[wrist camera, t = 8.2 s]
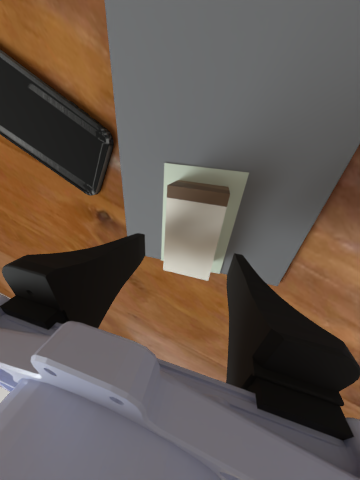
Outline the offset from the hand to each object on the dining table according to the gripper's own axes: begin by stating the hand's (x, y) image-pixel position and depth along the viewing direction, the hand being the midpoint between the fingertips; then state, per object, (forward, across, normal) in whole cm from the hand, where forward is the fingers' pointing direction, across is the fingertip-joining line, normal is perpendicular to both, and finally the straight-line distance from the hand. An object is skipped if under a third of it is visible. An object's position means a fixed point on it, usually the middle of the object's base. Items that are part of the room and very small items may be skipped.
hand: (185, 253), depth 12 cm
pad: (+6, 0, 0) cm, 6 cm away
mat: (+7, -1, -6) cm, 9 cm away
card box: (+6, 0, 0) cm, 6 cm away
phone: (+7, +18, -8) cm, 21 cm away
